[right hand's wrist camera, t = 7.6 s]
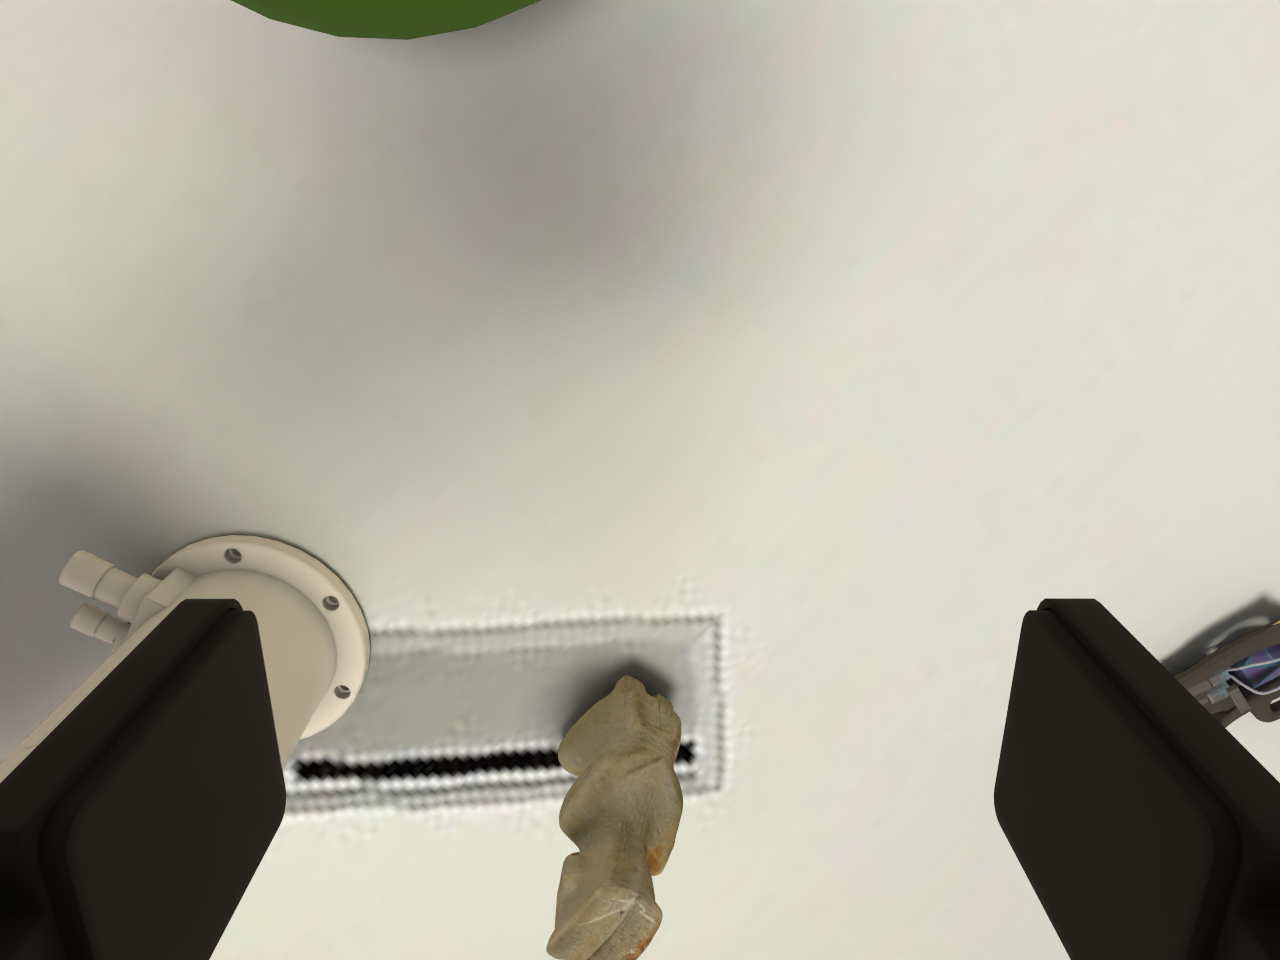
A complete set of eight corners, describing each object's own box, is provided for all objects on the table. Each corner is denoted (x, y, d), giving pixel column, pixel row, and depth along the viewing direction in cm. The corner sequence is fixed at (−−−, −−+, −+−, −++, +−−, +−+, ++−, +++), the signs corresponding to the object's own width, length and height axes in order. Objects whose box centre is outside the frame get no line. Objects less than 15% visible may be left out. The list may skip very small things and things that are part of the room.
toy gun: (1460, 700, 49) (1409, 577, 45) (1124, 850, 54) (1052, 751, 50) (1421, 667, 51) (1369, 547, 47) (1103, 813, 56) (1033, 717, 52)
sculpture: (541, 730, 52) (505, 948, 38) (622, 646, 50) (615, 843, 36) (620, 784, 53) (612, 1013, 39) (701, 704, 52) (724, 916, 37)
